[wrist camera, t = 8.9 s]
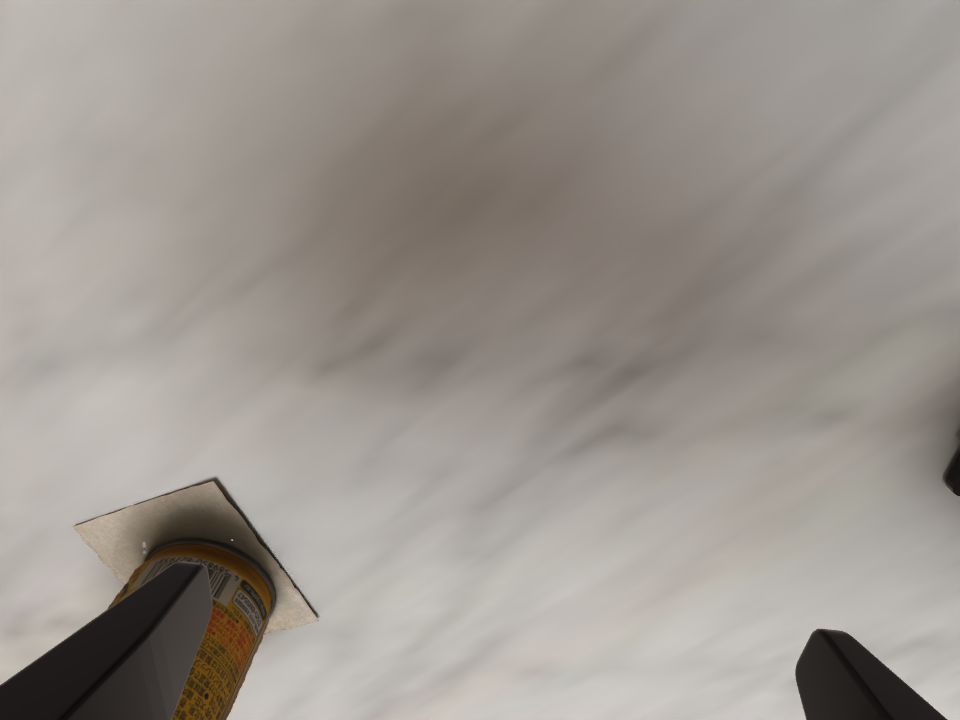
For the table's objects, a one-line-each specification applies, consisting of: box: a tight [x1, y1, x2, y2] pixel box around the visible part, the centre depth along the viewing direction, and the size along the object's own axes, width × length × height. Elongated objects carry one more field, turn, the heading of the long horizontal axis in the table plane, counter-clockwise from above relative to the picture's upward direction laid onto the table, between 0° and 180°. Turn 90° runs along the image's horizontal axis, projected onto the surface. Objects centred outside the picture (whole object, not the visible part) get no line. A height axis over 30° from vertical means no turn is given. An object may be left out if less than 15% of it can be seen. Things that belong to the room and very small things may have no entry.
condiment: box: [73, 481, 319, 720], centre depth 21 cm, size 7×8×12 cm
